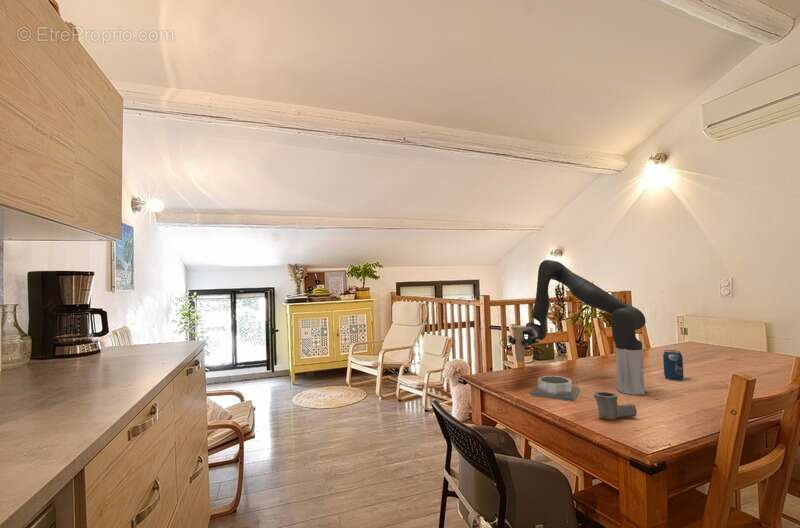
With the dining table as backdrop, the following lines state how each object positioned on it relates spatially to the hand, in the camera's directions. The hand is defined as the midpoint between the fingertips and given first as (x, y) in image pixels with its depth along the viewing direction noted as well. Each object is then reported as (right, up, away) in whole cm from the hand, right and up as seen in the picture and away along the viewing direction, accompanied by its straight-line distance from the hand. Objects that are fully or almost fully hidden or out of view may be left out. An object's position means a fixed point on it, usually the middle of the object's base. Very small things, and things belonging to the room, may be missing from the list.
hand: (517, 342), depth 159 cm
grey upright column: (+2, -9, +2) cm, 9 cm away
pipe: (+21, -18, -35) cm, 45 cm away
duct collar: (+13, -19, -7) cm, 24 cm away
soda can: (+71, -17, +6) cm, 73 cm away
